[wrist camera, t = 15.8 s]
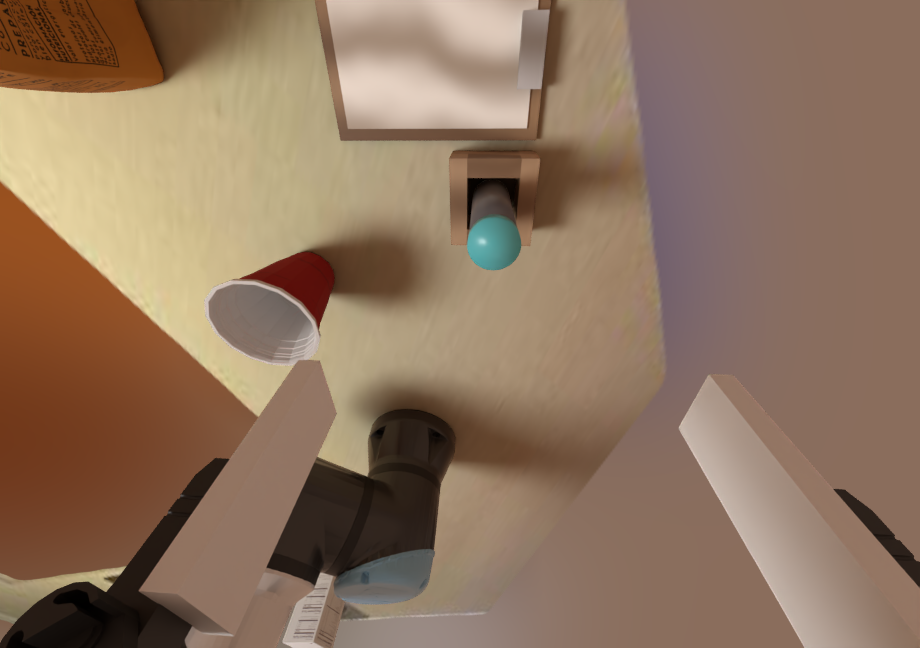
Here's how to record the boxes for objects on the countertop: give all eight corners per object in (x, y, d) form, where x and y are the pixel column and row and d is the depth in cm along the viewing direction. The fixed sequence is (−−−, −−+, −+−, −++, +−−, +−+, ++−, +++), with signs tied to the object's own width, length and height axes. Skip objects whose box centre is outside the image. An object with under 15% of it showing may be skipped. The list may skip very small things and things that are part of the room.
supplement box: (309, 563, 96) (280, 642, 83) (337, 561, 94) (312, 642, 81) (326, 576, 101) (301, 653, 88) (353, 575, 100) (332, 653, 86)
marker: (506, 209, 36) (518, 270, 24) (472, 209, 37) (467, 269, 24) (509, 173, 34) (523, 219, 22) (473, 173, 34) (467, 218, 22)
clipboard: (535, 139, 32) (537, 141, 31) (342, 139, 33) (336, 142, 32) (556, -59, 25) (561, -68, 24) (308, -51, 26) (297, -59, 25)
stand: (525, 230, 38) (530, 245, 34) (454, 229, 38) (451, 244, 34) (534, 151, 33) (540, 158, 29) (453, 150, 33) (449, 158, 30)
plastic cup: (292, 314, 46) (241, 375, 36) (252, 239, 40) (177, 287, 30) (367, 305, 45) (334, 366, 35) (337, 226, 39) (287, 272, 29)
